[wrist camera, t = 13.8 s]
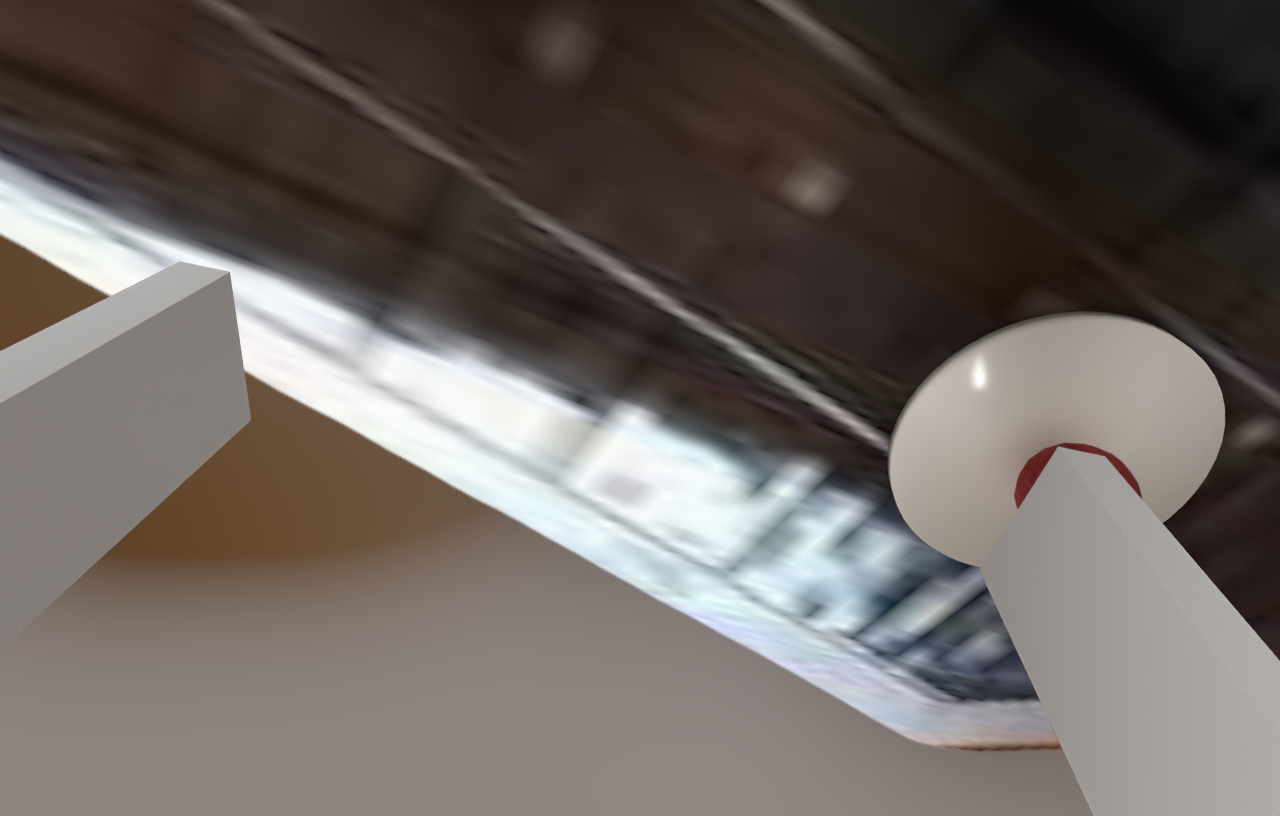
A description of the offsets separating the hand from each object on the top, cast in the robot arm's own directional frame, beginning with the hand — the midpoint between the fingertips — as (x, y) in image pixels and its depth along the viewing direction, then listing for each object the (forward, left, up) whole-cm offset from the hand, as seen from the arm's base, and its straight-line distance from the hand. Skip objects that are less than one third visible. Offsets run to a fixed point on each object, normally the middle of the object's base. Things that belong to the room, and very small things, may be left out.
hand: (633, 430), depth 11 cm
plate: (+13, +25, -27) cm, 39 cm away
